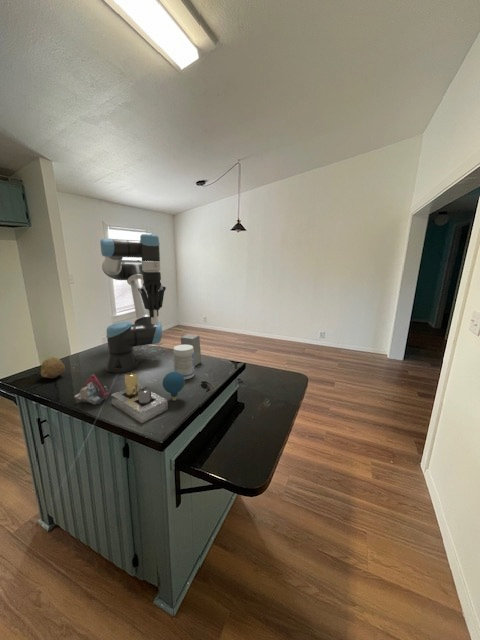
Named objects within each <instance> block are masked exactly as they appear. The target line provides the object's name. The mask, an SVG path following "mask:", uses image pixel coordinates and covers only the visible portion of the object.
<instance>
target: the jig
mask: <svg viewBox="0 0 480 640" xmlns="http://www.w3.org/2000/svg"><path fill="white" fill-rule="evenodd" d="M110 398H111V399H110V400H111V404H112V405H113V406H115V407H116V408H117V409H119V410H120V411H122V412H124V413H125V414H127V415H128V416H130V417H131V418H133V419H135V420H136V421H138V422H139V423H141V424H143V423H145V422H147V421H149V420H151V419H153V418H155V417H157V416H158V415H161V414H162V413H163V412H165V411H167V410H169V409H168V405H169V404H168V399H166V398H164V397H162V396H160V395H159V394H157V393H155V392H152V390H151V388H149V387H143V386H140V385H139V384H138V396H136V397H134V398H132V399H128V398H127V397H126V388H124V389H121V390H119V391H117V392H113V393H112V394H110Z"/></svg>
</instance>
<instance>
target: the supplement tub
mask: <svg viewBox="0 0 480 640" xmlns="http://www.w3.org/2000/svg"><path fill="white" fill-rule="evenodd" d="M173 367H174V368H173V372H178V373H180V374H181V375H182V376H183V377H184V380H188V379H192V378H193V377H194V376H195V366H194V349H193V346H192V345H181V344H178V345H175V346H174V347H173Z"/></svg>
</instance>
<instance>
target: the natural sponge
mask: <svg viewBox="0 0 480 640" xmlns="http://www.w3.org/2000/svg"><path fill="white" fill-rule="evenodd" d="M65 370H66V365H65V363H63V361H62V360H61V359H60V358H58V357H55V356H53V357H48V358H46V359H44V360H43V361H42V363H41V366H40V376H41V377H42V378H49V379H55V378H57V377H58V376H59V375H60V374H62V373H63V372H64V371H65Z"/></svg>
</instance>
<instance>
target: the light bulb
mask: <svg viewBox="0 0 480 640" xmlns="http://www.w3.org/2000/svg"><path fill="white" fill-rule="evenodd" d="M185 383H186V382H185V379H184V377H183V376H182V375H181V374H180V373H178V372H174V371H171V372H168V373H167V374H166V375H165V376H164V377H163V379H162V387H163V389H164V391H166V392H167V393H169V394H170V396H171V400H172V401H177V400H178V397H177V396H178V393H179V392H181V391H182V390H183V388H184V387H185Z"/></svg>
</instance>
